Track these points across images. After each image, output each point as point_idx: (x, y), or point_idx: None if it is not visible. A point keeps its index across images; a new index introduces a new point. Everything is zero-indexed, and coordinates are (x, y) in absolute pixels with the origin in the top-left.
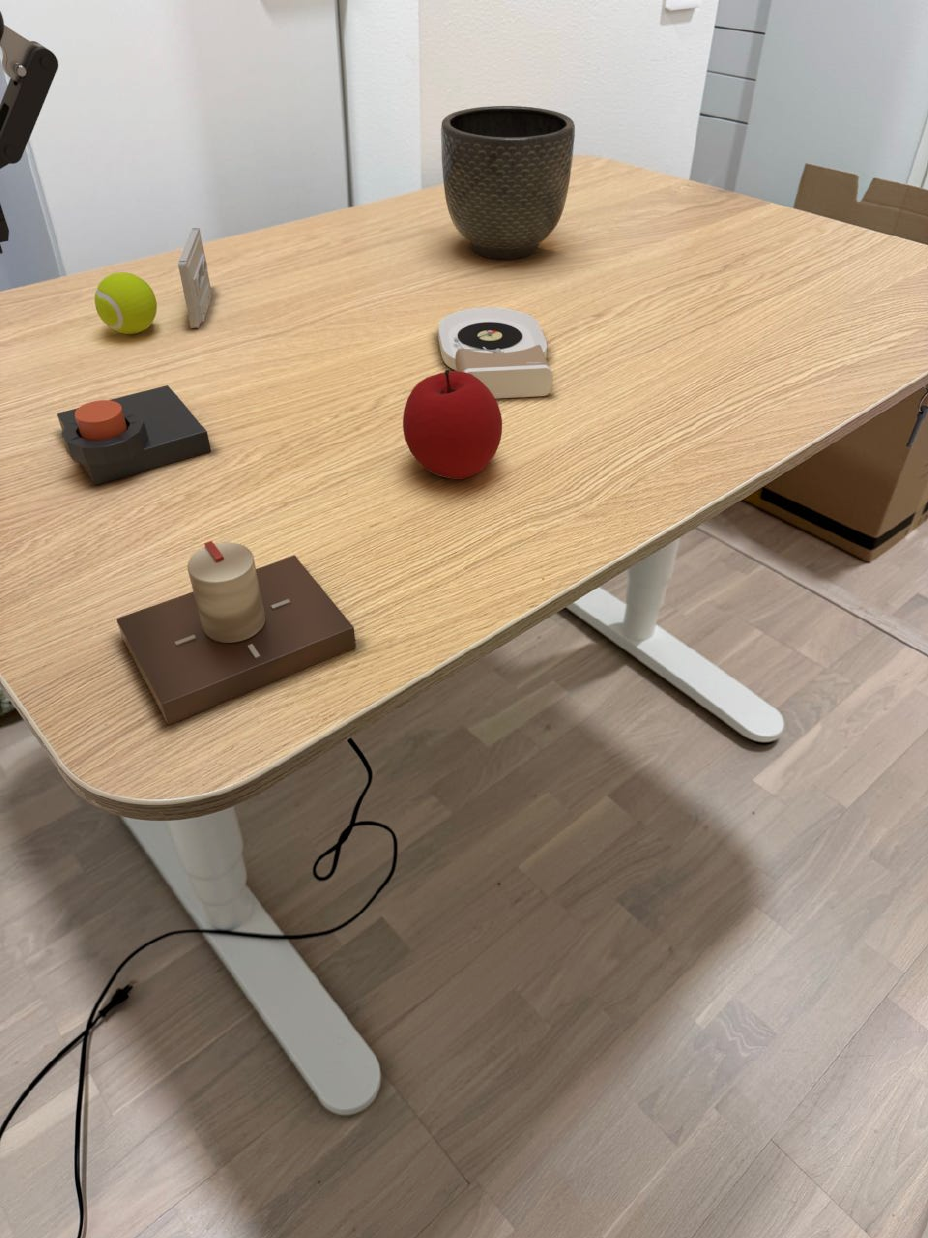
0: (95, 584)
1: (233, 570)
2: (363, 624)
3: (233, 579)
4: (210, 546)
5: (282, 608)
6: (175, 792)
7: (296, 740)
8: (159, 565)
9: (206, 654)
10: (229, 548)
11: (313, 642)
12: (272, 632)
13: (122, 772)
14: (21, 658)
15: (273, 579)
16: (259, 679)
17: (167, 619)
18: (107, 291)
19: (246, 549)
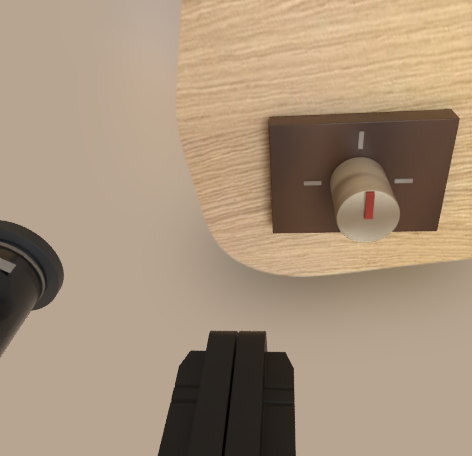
0: (267, 15)
1: (371, 233)
2: (454, 198)
3: (365, 242)
4: (369, 200)
5: (402, 184)
6: (260, 268)
7: (342, 269)
8: (338, 15)
9: (321, 204)
10: (384, 204)
11: (399, 230)
12: None
13: (235, 241)
14: (184, 96)
15: (418, 143)
16: None
17: (309, 148)
18: None
19: (397, 213)
